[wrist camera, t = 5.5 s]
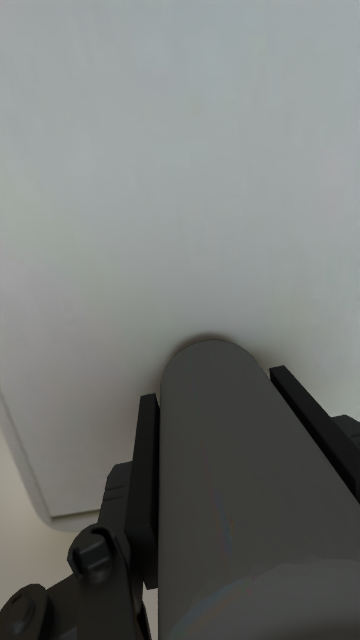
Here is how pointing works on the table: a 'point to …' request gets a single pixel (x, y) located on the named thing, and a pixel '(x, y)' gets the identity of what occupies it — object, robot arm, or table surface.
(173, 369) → the bottle
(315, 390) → the table surface
